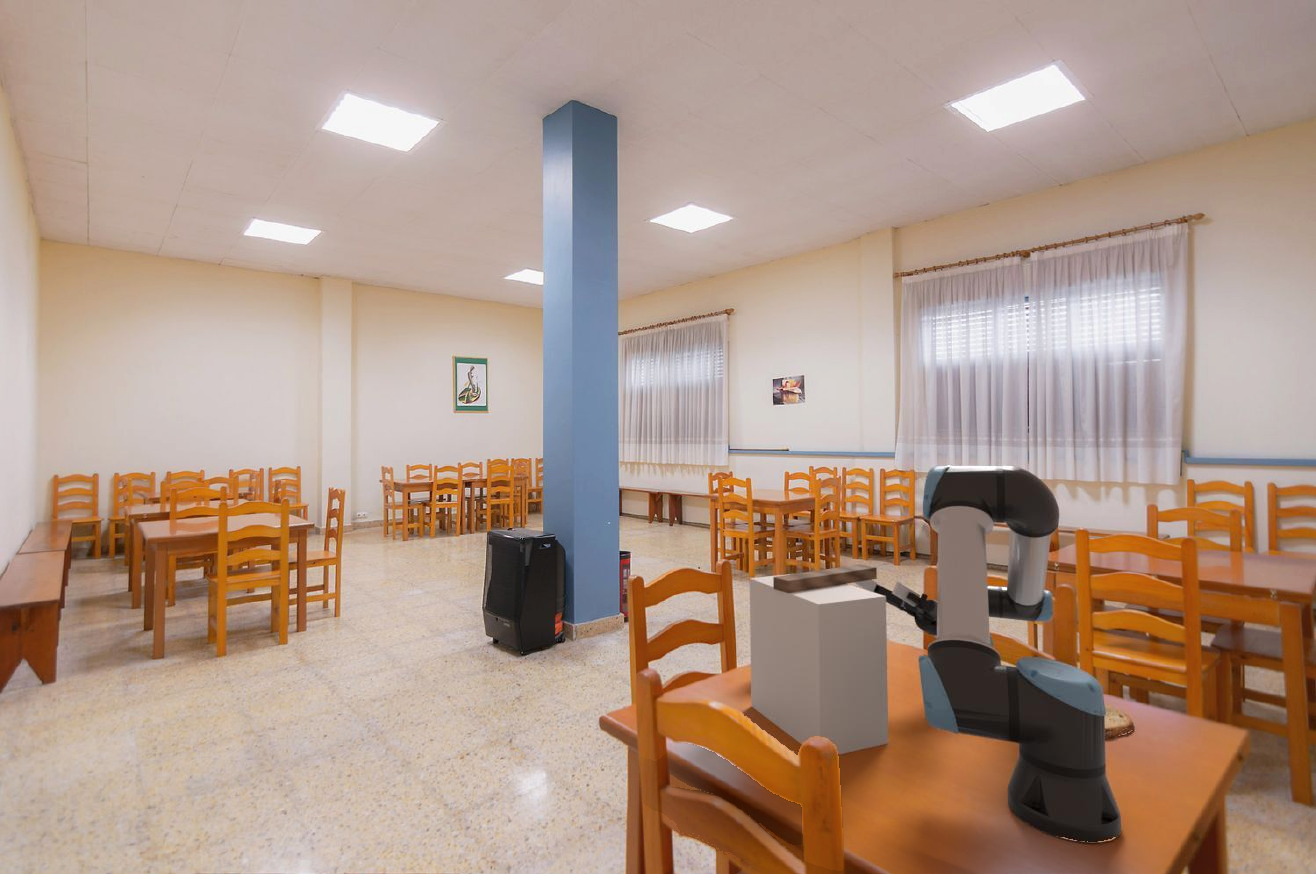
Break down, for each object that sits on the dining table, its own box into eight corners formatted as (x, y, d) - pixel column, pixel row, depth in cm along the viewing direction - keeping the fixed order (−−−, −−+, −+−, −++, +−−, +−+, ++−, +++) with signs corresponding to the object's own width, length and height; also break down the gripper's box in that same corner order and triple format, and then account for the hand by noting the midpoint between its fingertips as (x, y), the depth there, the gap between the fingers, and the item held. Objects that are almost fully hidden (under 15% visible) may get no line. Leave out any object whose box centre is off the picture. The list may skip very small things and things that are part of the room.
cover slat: (860, 575, 145) (860, 564, 145) (876, 578, 141) (876, 567, 141) (773, 588, 132) (773, 577, 132) (788, 593, 128) (788, 580, 128)
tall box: (810, 695, 149) (808, 572, 149) (888, 743, 124) (885, 596, 125) (751, 706, 143) (749, 578, 143) (820, 758, 119) (818, 604, 119)
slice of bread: (1136, 722, 133) (1135, 704, 133) (1128, 754, 120) (1128, 734, 120) (1038, 701, 145) (1038, 684, 145) (1021, 727, 131) (1021, 709, 132)
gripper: (976, 651, 135) (908, 610, 128) (894, 622, 158) (832, 585, 151) (989, 619, 136) (922, 576, 130) (905, 594, 159) (845, 557, 153)
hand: (873, 581), depth 141 cm, fingers open, 13 cm apart
